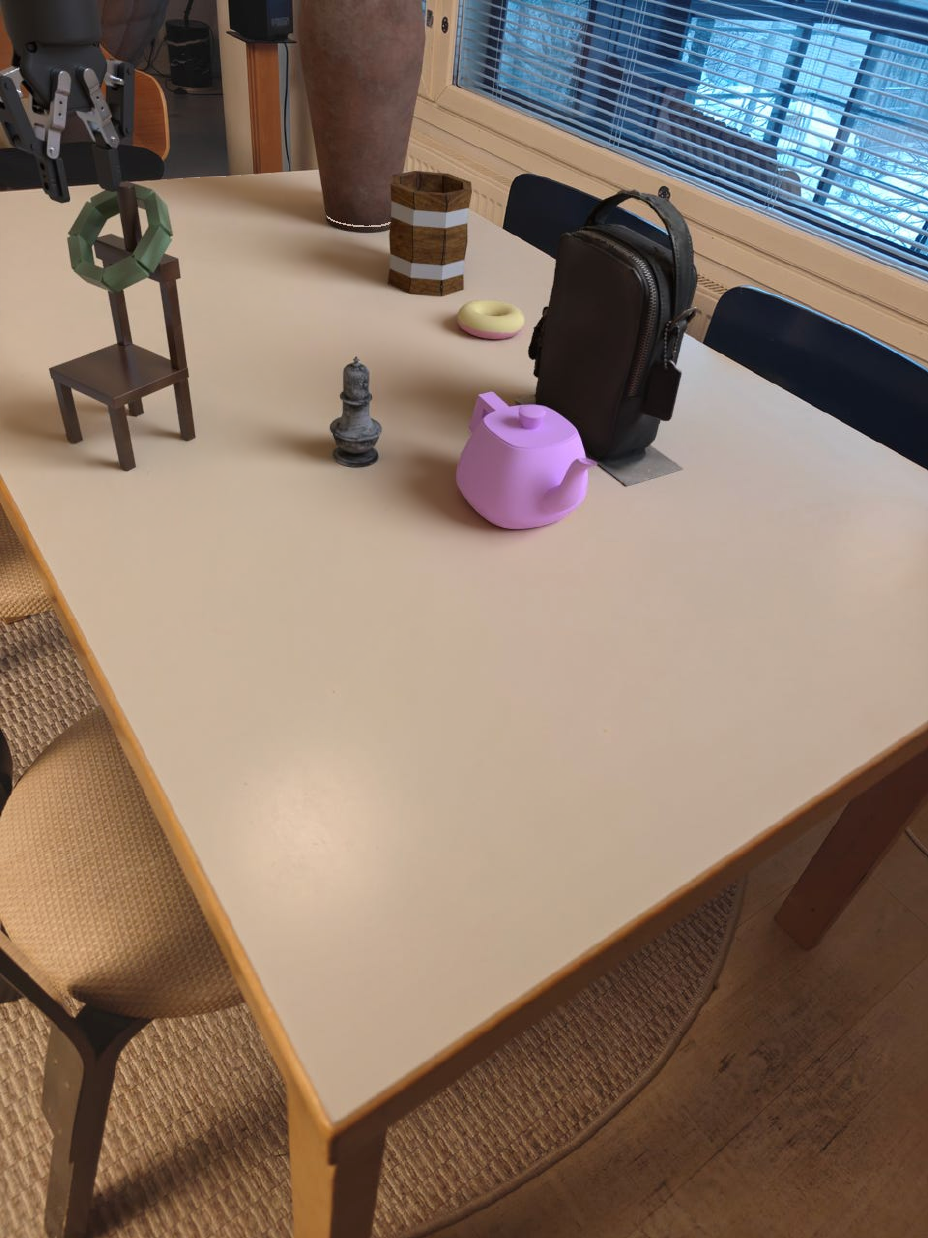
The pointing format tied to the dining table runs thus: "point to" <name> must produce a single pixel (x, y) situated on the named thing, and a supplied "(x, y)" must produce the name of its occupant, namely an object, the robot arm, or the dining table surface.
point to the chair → (128, 348)
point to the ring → (144, 254)
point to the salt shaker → (355, 420)
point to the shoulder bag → (616, 336)
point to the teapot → (522, 464)
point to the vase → (361, 100)
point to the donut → (490, 319)
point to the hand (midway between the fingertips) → (85, 194)
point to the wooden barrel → (428, 232)
